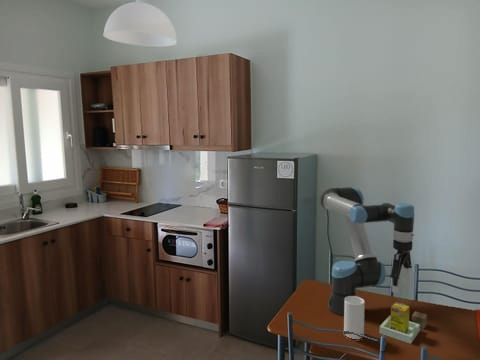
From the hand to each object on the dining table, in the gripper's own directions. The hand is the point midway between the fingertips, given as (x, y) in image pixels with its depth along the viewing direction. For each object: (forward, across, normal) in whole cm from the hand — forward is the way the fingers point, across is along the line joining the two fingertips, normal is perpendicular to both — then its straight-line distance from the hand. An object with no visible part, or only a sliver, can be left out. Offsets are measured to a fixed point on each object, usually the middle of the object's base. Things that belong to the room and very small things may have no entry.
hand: (400, 287), depth 155 cm
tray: (+20, -1, -1) cm, 21 cm away
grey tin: (+21, +11, +2) cm, 24 cm away
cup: (+21, -16, +14) cm, 29 cm away
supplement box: (+20, -1, -1) cm, 20 cm away
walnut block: (+21, +11, -6) cm, 24 cm away
